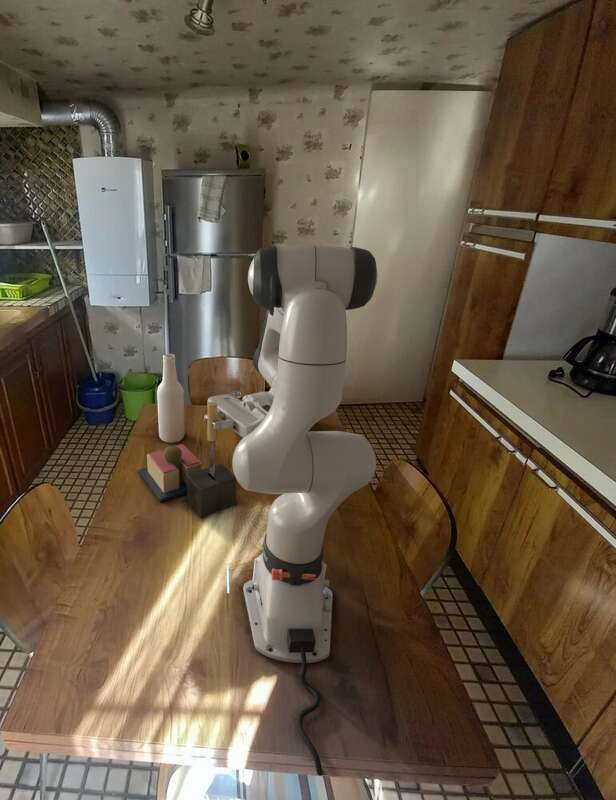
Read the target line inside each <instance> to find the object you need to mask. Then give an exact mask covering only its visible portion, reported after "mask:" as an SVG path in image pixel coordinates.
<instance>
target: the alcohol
mask: <svg viewBox="0 0 616 800" xmlns="http://www.w3.org/2000/svg"><path fill="white" fill-rule="evenodd" d="M162 358H163V359H162V364H163V365H162V381H161V383H160V384H159V385H158V386H157V390H156V398H157V399H156V400H157V421H158V437H159V438H160V440H161V441H163V442H164V443H169V444H173V443H178V442H180V441H182V440H183V438H184V437H185V394H184V393H185V391H184V388H183V385H182V384H181V383H180V381H179V380H178V375H177V366H176V355H175V354H174V353H165V354H164V355H162Z"/></svg>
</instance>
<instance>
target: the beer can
mask: <svg viewBox="0 0 616 800" xmlns="http://www.w3.org/2000/svg"><path fill="white" fill-rule="evenodd" d="M227 394H229V395H233V396H235V397H237V398H239V399H240V400H242V399H243V393H242V391H240V390H237V389H233V390H229V391H228V392H227Z"/></svg>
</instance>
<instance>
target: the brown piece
mask: <svg viewBox="0 0 616 800" xmlns="http://www.w3.org/2000/svg"><path fill="white" fill-rule="evenodd" d="M176 446H177V445H169V446H167V447H166V448H164V450H163V453H164V458H165V459H166V462H167V463H170V464H173V465H175V467H176V468H177V469H178V470H179V483H180V482H181V481H182V470H181V463H180V458H181V456H182V452H181V449H180V448H179V447H176Z"/></svg>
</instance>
